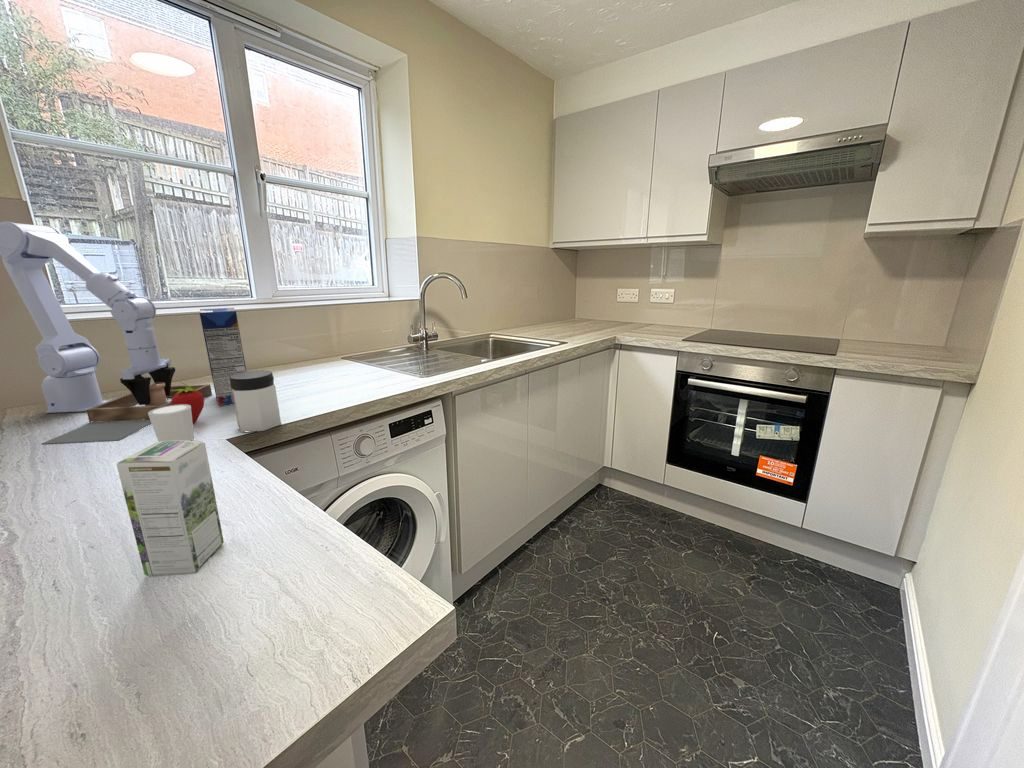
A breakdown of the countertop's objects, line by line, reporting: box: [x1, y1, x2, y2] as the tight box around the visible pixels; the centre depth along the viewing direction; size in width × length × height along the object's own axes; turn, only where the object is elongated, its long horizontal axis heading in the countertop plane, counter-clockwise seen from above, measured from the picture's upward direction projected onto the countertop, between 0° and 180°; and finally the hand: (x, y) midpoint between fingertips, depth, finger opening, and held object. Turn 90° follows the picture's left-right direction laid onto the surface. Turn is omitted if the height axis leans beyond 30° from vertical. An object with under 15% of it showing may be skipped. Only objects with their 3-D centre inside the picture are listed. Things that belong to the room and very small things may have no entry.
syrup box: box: [116, 440, 225, 577], centre depth 49 cm, size 6×6×14 cm
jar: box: [229, 369, 282, 433], centre depth 92 cm, size 9×8×12 cm
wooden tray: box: [85, 383, 213, 423], centre depth 106 cm, size 16×20×3 cm
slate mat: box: [41, 419, 152, 445], centre depth 90 cm, size 14×12×1 cm
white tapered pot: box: [148, 404, 195, 442], centre depth 84 cm, size 7×7×7 cm
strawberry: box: [170, 381, 205, 424], centre depth 94 cm, size 6×8×10 cm
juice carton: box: [199, 307, 247, 407], centre depth 110 cm, size 12×8×24 cm, turn 35°
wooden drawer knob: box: [144, 381, 168, 406], centre depth 106 cm, size 5×5×6 cm
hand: (155, 399), depth 106 cm, fingers open, 7 cm apart
